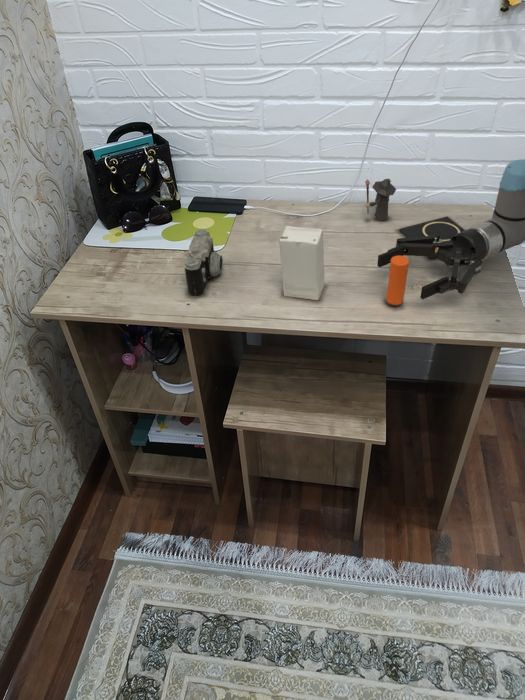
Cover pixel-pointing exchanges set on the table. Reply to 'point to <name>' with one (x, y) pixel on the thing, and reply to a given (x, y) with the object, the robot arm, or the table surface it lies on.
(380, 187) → the wizard figurine
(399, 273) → the cylinder
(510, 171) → the robot arm
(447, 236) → the black square board
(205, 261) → the camera
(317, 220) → the table surface
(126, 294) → the table surface
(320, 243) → the cosmetic box
